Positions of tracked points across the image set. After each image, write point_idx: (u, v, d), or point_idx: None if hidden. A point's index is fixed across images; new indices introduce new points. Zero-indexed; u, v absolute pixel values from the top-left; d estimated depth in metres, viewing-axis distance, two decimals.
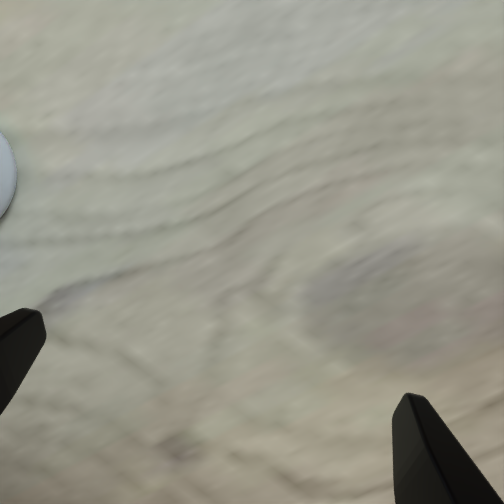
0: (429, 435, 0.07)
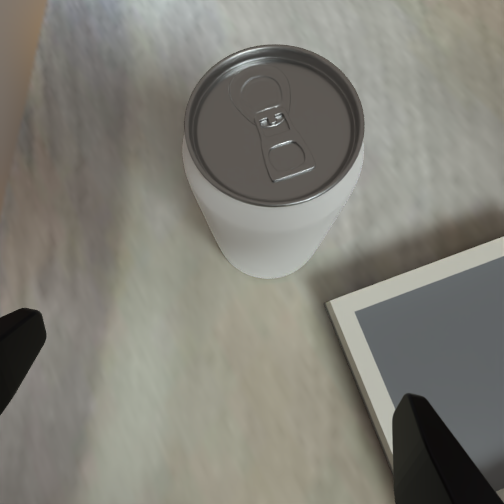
0: (429, 435, 0.07)
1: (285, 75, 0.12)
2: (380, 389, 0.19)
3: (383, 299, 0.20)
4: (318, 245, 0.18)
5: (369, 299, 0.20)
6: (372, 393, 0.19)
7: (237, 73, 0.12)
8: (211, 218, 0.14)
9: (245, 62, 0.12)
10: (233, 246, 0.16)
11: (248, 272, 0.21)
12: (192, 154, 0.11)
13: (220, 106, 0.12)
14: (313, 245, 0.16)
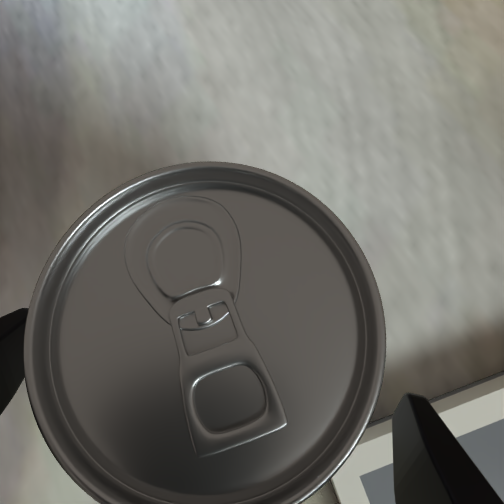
0: (429, 435, 0.07)
1: (232, 220, 0.06)
2: None
3: None
4: None
5: (380, 457, 0.14)
6: None
7: (143, 213, 0.07)
8: None
9: (160, 189, 0.07)
10: None
11: None
12: (34, 402, 0.06)
13: (105, 282, 0.06)
14: None
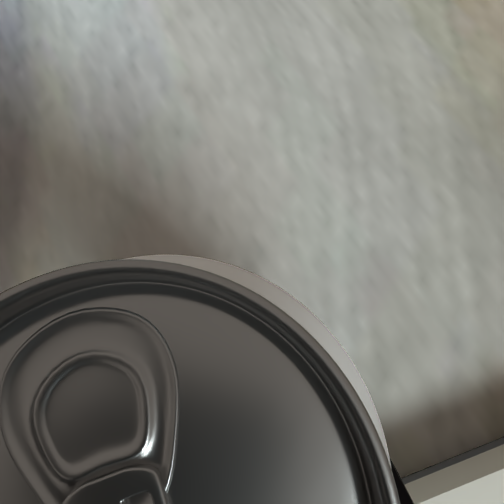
0: None
1: (167, 349, 0.04)
2: None
3: None
4: None
5: None
6: None
7: (32, 335, 0.04)
8: None
9: (61, 295, 0.04)
10: None
11: None
12: None
13: None
14: None
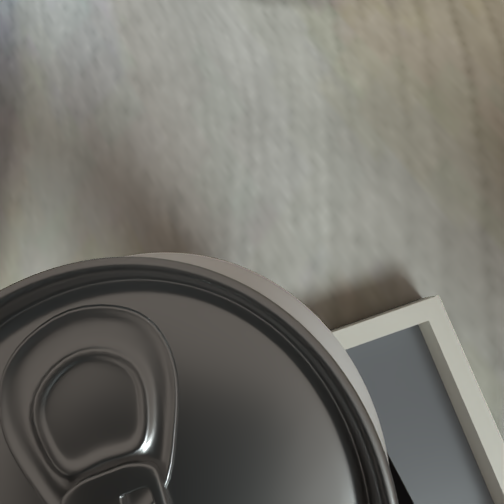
0: None
1: (167, 346, 0.04)
2: None
3: None
4: None
5: None
6: None
7: (31, 332, 0.04)
8: None
9: (61, 292, 0.04)
10: None
11: None
12: None
13: None
14: None
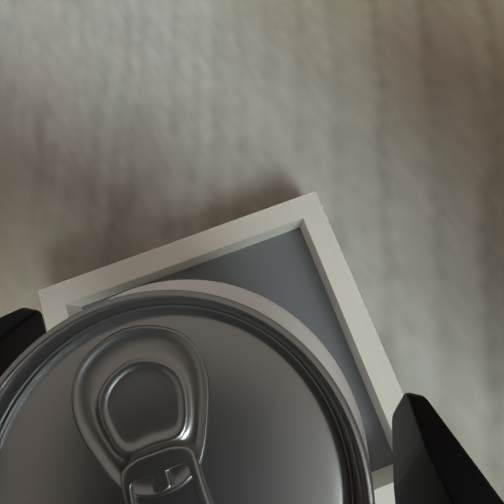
0: (429, 435, 0.07)
1: (200, 357, 0.05)
2: None
3: (103, 288, 0.16)
4: None
5: (86, 288, 0.16)
6: None
7: (95, 345, 0.06)
8: None
9: (117, 314, 0.06)
10: None
11: None
12: None
13: (47, 434, 0.05)
14: None
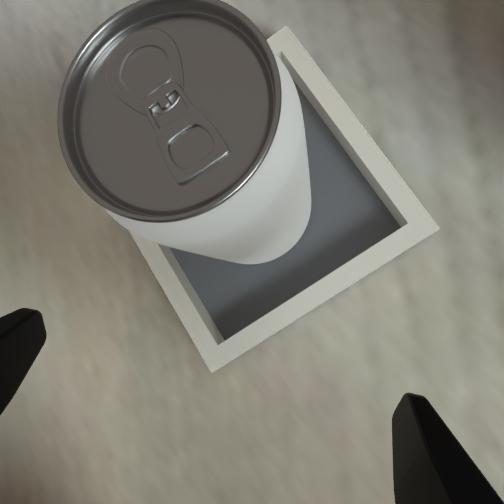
0: (429, 435, 0.07)
1: (170, 36, 0.09)
2: None
3: None
4: (300, 220, 0.16)
5: None
6: (139, 241, 0.20)
7: (112, 52, 0.10)
8: None
9: (120, 33, 0.10)
10: None
11: None
12: (75, 175, 0.09)
13: (100, 102, 0.09)
14: (285, 228, 0.14)
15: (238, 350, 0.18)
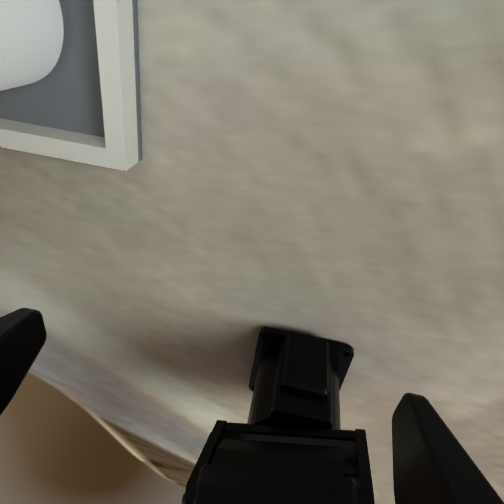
0: (429, 435, 0.07)
1: None
2: None
3: None
4: None
5: None
6: None
7: None
8: None
9: None
10: None
11: (38, 71, 0.17)
12: None
13: None
14: None
15: (119, 135, 0.18)
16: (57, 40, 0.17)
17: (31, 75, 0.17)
